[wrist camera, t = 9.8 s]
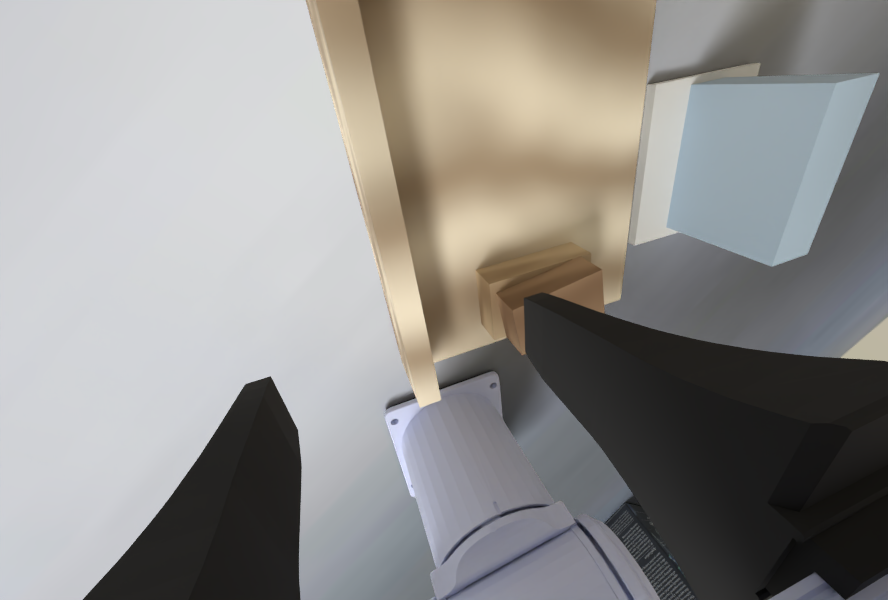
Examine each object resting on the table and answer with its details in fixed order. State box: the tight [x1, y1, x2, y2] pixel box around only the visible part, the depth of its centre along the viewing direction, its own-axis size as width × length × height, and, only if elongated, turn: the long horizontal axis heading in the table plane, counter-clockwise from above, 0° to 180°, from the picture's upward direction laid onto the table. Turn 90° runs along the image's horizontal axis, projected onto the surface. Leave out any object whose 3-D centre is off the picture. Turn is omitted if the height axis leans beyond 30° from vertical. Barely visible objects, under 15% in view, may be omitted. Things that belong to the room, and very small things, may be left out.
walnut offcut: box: [496, 256, 605, 356], centre depth 20 cm, size 3×5×2 cm, turn 107°
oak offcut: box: [475, 242, 591, 340], centre depth 21 cm, size 4×6×2 cm, turn 99°
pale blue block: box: [666, 73, 880, 267], centre depth 20 cm, size 8×2×6 cm, turn 9°
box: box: [605, 503, 698, 600], centre depth 41 cm, size 8×6×11 cm
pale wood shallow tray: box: [306, 0, 656, 408], centre depth 18 cm, size 19×15×5 cm
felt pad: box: [628, 63, 761, 246], centre depth 23 cm, size 9×7×1 cm
